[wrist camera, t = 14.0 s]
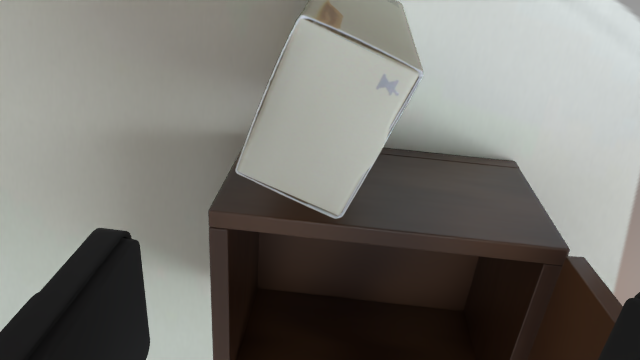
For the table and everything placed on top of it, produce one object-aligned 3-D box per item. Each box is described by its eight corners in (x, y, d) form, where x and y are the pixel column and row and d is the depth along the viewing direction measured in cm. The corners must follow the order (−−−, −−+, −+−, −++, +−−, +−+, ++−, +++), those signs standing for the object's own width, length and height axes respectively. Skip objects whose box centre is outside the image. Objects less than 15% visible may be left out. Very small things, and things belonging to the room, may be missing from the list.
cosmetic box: (328, -36, 25) (301, -2, 14) (405, 3, 26) (433, 63, 15) (280, 77, 28) (227, 176, 17) (350, 109, 29) (340, 225, 18)
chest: (247, 287, 35) (213, 393, 27) (249, 133, 30) (207, 210, 22) (471, 313, 35) (502, 428, 27) (515, 161, 29) (571, 249, 21)
